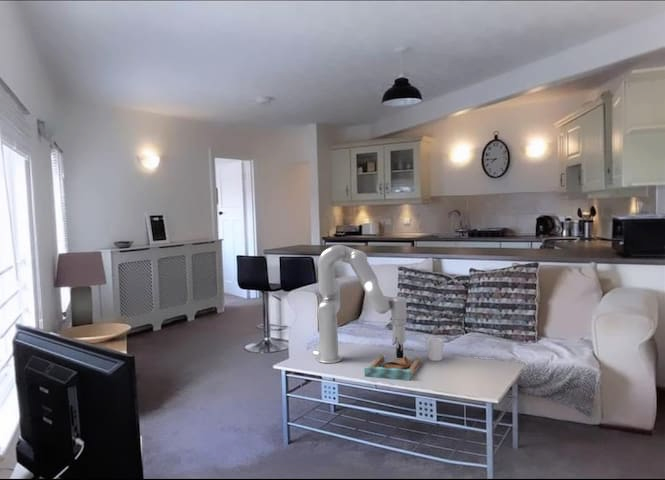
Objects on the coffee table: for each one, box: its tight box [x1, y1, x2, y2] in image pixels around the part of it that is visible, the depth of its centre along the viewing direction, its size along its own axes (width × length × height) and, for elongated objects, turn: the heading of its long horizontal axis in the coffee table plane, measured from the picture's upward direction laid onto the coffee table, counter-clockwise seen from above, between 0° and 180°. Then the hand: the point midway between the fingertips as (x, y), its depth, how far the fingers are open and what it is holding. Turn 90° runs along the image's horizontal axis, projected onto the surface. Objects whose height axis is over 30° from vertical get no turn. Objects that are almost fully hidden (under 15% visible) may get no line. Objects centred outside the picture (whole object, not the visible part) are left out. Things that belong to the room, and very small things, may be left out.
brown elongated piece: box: [381, 356, 414, 370], centre depth 239 cm, size 18×7×7 cm
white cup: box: [426, 337, 444, 362], centre depth 251 cm, size 8×8×10 cm
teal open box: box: [363, 354, 422, 381], centre depth 236 cm, size 21×27×4 cm
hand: (399, 357), depth 248 cm, fingers closed
